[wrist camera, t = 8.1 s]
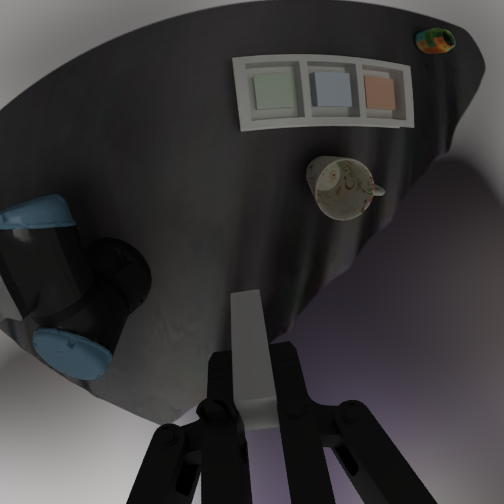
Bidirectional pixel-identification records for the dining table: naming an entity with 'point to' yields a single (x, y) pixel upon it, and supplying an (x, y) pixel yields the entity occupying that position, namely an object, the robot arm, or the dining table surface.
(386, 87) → the key
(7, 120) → the dining table surface
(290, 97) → the key
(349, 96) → the key
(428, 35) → the jar
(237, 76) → the three-slot tray
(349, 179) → the mug
